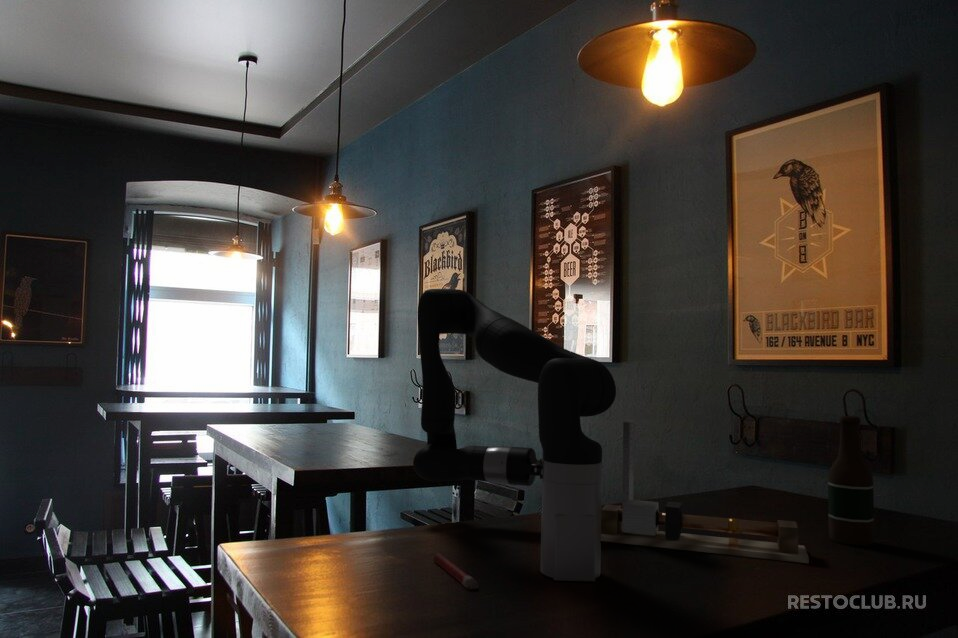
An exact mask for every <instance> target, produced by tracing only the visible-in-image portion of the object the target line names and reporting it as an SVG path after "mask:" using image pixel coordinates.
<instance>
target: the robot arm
mask: <svg viewBox="0 0 958 638" xmlns="http://www.w3.org/2000/svg"><path fill="white" fill-rule="evenodd" d="M417 329H418V343H419V345H418V346H419V355H420V356H419V357H420V365H421V375H422V376H421V377H422V397H421V413H420V425H421V429H422V430H423V432H425V433H426V446H423V447H422V448H420V449H419V450H418V451H417V452H416V454H415V455H414V457H413V461H412V465H413V470H414V472H415V474H416V475H418V476H419V477H420V478H421V479H423V480H426V481H429V482H453V481H462V480H470V481H477V482H479V481H480V482H490V483H494V484H497V485H498V484H499V485H511V486H512V485H513V486H523V487H524V486H525V487H530V486H532V485H533V484H534V482H535V481H536V480H535V479H536V476H537V477H539V480H542V483H541V484H542V485H541V522H540V525H541V526H540V527H541V528H540V531H541V532H540V572H541V574H543V575H544V576H546V577H549V578H551V579H553V581H559V582H560V581H563V582H564V581H565V582H567V581H569V582H596V579H597V578H599V577H600V576H601V562H602V561H601V559H602V558H601V557H602V556H601V553H602V550H601V549H602V547H601V546H602V544H601V542H602V541H601V509H602V488H603V487H602V481H603V478H602V476H603V475H602V474H603V473H602V472H603V447H602V445H601V443H600V442H598V441H596V440H594V439H591V438H590V437H588V436H587V435H586V434H585V433H584V432H583V430H582V424H581V417H582V418H583V417H585V418H586V417H594V416H598V415H601V414H604V413H605V412H607V411H608V410H609V409H610V408H611V407H612V406H613V404H614V403H615V400H616V398H617V397H616V396H617V387H616V382H615V379H614V377H613V375H612V372H611V371H610V370H609V368H607V366H606V365H604V364H603V363H602V362H600V361H599V360H596V359H593V358H591V357H588V356H585V355H582V354H579V353H577V352H574V351H571V350H568V349H566V348H564V347H562V346H560V345H558V344H556V343H554V342H553V341H551V340H550V339H548V338H546V337H544V336H543V335H541V334H540V333H537V332H535V331H534V330H532V329H531V328H529V327H527V326H525V325H524V324H522V323H519V322H518V321H516V320H514V319H512V318H510V317H508V316H506V315H504V314H502V313H500V312H498V311H496V310H494V309H492V308H490V307H488V306H486V304H484V303H482V302H481V301H480V299H478V298H476V297H475V296H474V295H472V294H471V293H469V292H468V291H466V290H464V289H463V290H462V289H457V288H456V289H455V288H453V289H451V288H428V289H426V290H424V291H423V293H422V294H421V295H420V296H419V299H418V304H417ZM453 334H454V335H455V334H456V335H457V334H458V335H459V334H460V335H461V334H462V335H466V336H469V337H471V338H473V342H474V343H473V345H474V348H475V351H476V352H477V354H478V356H479V357H480V358H481V359H482V360H484V361H485V362H486V363H487V364H489V365H491V366H492V367H494V368H495V369H497V370H498V371H500V372H502V373H504V374H506V375H509V376H512V377H516V378H518V379H522V380H525V381H528V382H533V383H537V408H538V409H537V415H538V419H537V420H538V437H539V442H540V445H541V449H542V457H541V458H539V459H537V455H536V454H537V453H536V451H535V450H534V448H532V447H525V446H524V447H522V446H521V447H520V446H505V445H499V446H484V445H467V446H463V447H462V448H458V446H457V435H456V430H455V418H456V415H455V414H456V404H457V403H456V401H457V399H456V398H457V396H456V395H457V394H456V389H455V386H454V382H453V381H452V377H451V375H450V374H449V372H448V370H447V368H446V366H445V364H444V361H443V359H442V356H441V352H440V335H453Z"/></svg>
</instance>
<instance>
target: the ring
mask: <svg viewBox="0 0 958 638" xmlns="http://www.w3.org/2000/svg"><path fill="white" fill-rule="evenodd" d="M664 513H665V526H664V529H665V530H664V532H665V538H671V539H679V538H680V535H681V533H682V528H681V527H679V522H680V514H682V502H675V501H668V502H667V504H666V505H665V512H664Z"/></svg>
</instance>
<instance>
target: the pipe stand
mask: <svg viewBox="0 0 958 638" xmlns="http://www.w3.org/2000/svg"><path fill="white" fill-rule="evenodd" d="M619 508H620V509H623V505H617V504H605V505H604V506H603V507H601V542H605V543H607V542H608V543H615V544H623V545H624V544H625V545H635V546H643V547H644V546H645V547H654V548H661V549H662V548H664V549H672V550H679V551H691V552H699V553H707V554H708V553H709V554H716V555H718V554H719V555H727V556H728V555H729V556H734V557H744V558H746V557H747V558H755V559H763V560H773V561H782V562H791V563H793V562H794V563H801V564H809V563H810V556H809V555H808V552H807V549H806V547H805V545H802V544H801V545H800V544H799V527H798V525H797V521H792V520H783V519H782V520H780V519H777V523H778V524H779V537H777V542H773V541H772V542H771V541H763V540H751V539H744V538H743V539H741V538H736V537H723V536H722V537H720V536H711V535H703V534H692V533H682V532H681V535H680V538H679V539H671V538H665V530H664V531H662V530H658V531H657V533H656V535H645V534H636V533H626V532H622V522H620V521H619V520H618V512H619Z"/></svg>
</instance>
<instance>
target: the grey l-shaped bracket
mask: <svg viewBox="0 0 958 638" xmlns="http://www.w3.org/2000/svg"><path fill="white" fill-rule="evenodd" d="M622 422H623V423H622V424H623V426H622V428H623V430H622V489H621V490H622V492H621V493H622V497H621V499H622V500H621V501H622V502H621V503H622V509H623V516H622V532H626V533H636V534H645V535H656V533H657V531H659V525H656V512H659V502H658V501H649V500H641V499H640V500H637V499H634V483H635V482H634V475H635V473H634V470H635V469H634V467H635V461H634V460H635V455H634V454H635V420H631V419H630V420H629V419H628V420H625V421H622Z"/></svg>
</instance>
